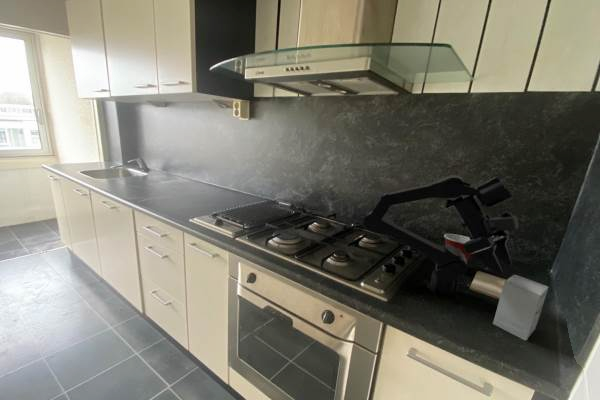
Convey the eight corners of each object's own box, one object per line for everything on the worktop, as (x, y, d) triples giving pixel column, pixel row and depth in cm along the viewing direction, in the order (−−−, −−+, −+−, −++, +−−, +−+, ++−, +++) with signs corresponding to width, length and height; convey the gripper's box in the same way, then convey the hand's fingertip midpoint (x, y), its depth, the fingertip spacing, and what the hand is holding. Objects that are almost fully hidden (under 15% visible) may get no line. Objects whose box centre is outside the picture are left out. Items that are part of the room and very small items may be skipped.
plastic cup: (470, 265, 104) (476, 236, 101) (472, 278, 94) (480, 245, 92) (438, 258, 109) (444, 229, 106) (438, 269, 99) (444, 238, 96)
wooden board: (529, 310, 78) (530, 307, 78) (469, 288, 87) (469, 286, 87) (530, 289, 89) (531, 287, 89) (477, 272, 98) (477, 270, 98)
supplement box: (526, 342, 65) (541, 295, 62) (491, 324, 71) (503, 280, 68) (536, 330, 70) (550, 286, 67) (502, 314, 75) (513, 273, 72)
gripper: (492, 206, 64) (533, 269, 60) (511, 199, 77) (547, 251, 72) (448, 225, 72) (482, 282, 67) (472, 216, 84) (502, 264, 80)
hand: (505, 269), depth 71 cm, fingers open, 9 cm apart
